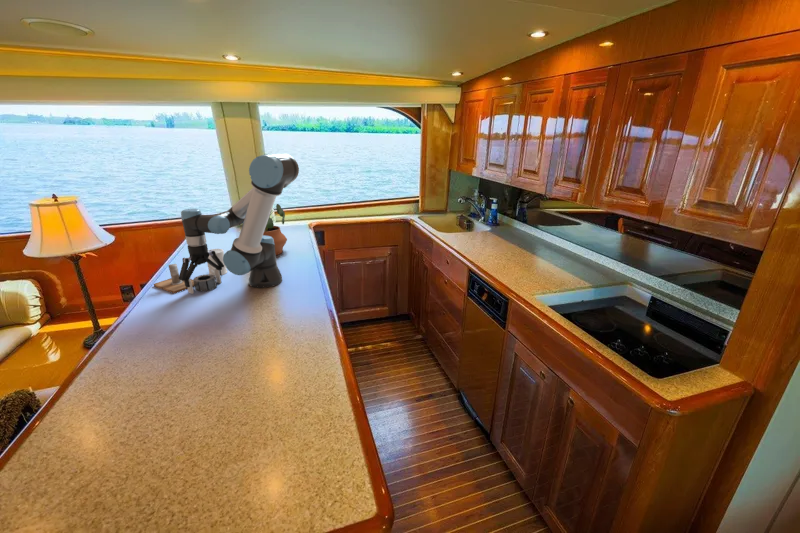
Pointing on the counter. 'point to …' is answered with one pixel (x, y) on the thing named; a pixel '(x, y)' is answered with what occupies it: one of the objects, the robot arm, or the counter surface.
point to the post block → (173, 281)
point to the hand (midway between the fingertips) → (205, 287)
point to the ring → (205, 283)
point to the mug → (211, 269)
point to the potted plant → (276, 231)
